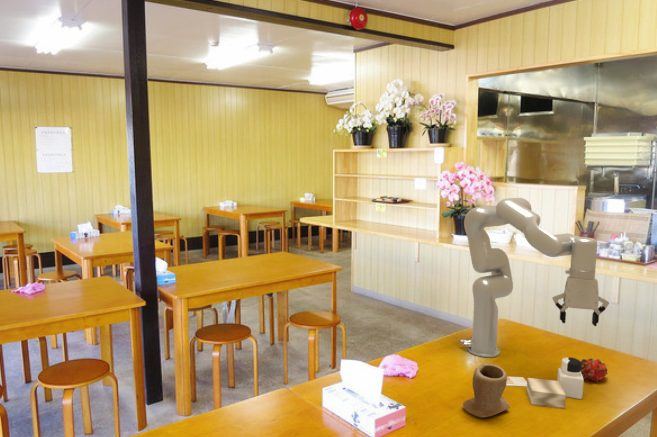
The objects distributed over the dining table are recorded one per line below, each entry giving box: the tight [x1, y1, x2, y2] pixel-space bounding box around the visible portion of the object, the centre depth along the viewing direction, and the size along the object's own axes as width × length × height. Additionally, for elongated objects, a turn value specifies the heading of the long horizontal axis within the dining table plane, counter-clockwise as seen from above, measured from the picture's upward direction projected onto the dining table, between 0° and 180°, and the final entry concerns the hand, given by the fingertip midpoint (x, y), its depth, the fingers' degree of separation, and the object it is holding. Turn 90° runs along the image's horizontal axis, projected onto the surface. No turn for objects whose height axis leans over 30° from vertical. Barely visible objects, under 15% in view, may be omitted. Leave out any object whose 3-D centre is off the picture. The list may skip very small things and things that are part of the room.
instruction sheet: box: [506, 376, 527, 388], centre depth 179 cm, size 10×7×1 cm
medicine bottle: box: [556, 356, 585, 400], centre depth 170 cm, size 7×7×12 cm
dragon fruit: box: [580, 358, 608, 383], centre depth 181 cm, size 8×8×12 cm
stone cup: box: [462, 363, 511, 418], centre depth 157 cm, size 15×12×15 cm
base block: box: [526, 377, 567, 410], centre depth 166 cm, size 10×10×5 cm
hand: (578, 323), depth 170 cm, fingers open, 9 cm apart
